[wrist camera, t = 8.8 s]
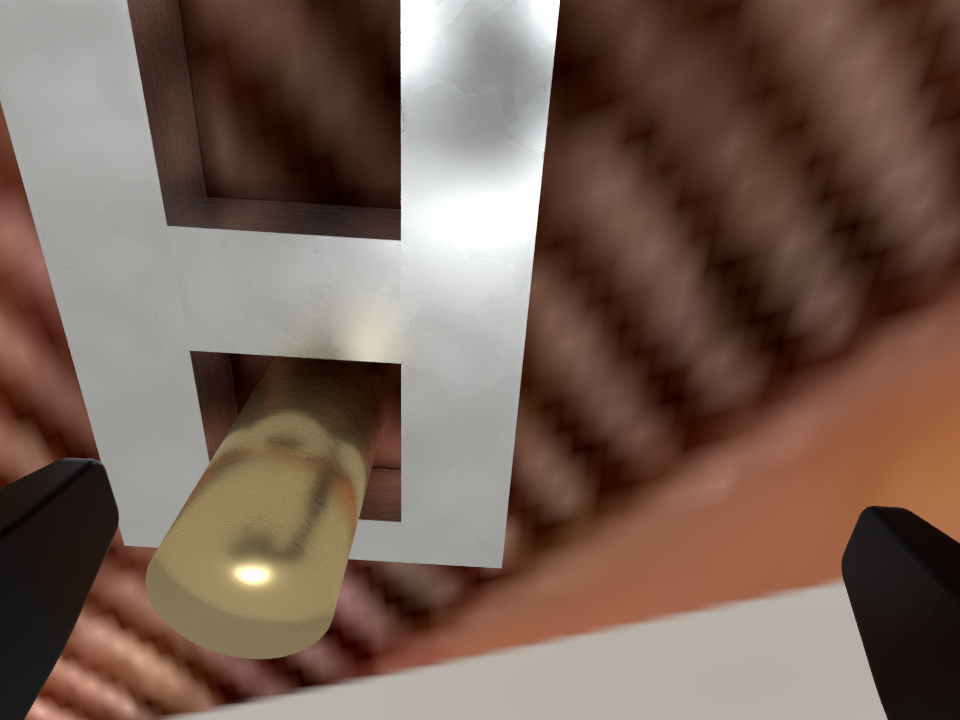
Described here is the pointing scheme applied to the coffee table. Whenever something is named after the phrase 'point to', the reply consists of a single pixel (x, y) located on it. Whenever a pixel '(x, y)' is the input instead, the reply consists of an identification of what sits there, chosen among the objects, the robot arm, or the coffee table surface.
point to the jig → (289, 258)
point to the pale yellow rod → (274, 513)
